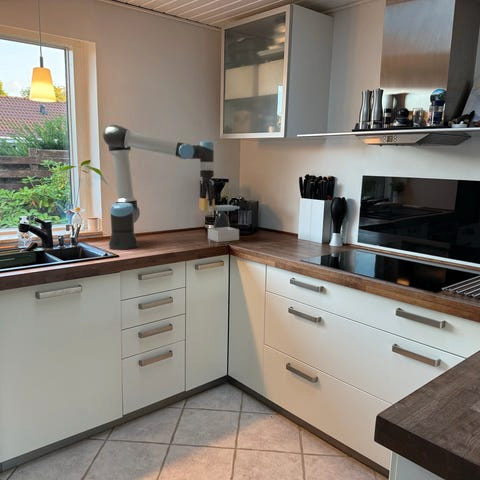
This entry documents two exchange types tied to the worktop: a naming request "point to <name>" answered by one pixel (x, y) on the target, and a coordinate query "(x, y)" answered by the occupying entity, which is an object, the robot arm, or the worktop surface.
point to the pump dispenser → (221, 220)
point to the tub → (223, 234)
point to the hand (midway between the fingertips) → (207, 211)
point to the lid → (204, 206)
